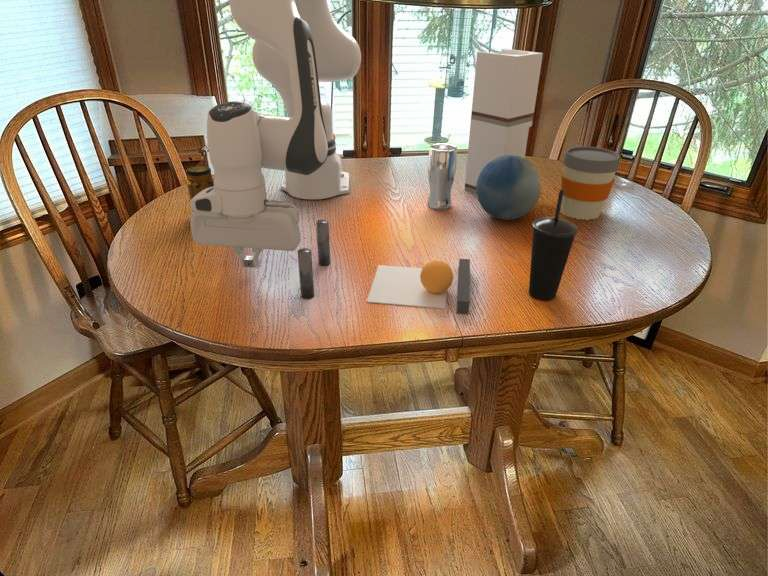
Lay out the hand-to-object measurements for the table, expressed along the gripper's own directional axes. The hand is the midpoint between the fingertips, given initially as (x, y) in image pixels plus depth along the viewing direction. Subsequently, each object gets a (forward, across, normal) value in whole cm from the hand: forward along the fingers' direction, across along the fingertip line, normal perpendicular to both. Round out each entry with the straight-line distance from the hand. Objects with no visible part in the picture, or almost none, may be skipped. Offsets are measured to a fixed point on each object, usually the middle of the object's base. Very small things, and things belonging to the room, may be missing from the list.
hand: (250, 266), depth 102 cm
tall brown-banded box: (+2, -48, -55) cm, 73 cm away
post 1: (+2, -13, +6) cm, 15 cm away
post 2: (+2, -13, -6) cm, 15 cm away
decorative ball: (+2, -50, -37) cm, 63 cm away
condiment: (+2, +20, -25) cm, 32 cm away
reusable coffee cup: (+2, -70, -43) cm, 82 cm away
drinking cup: (+2, -56, -1) cm, 56 cm away
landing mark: (+2, -31, 0) cm, 31 cm away
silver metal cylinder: (+2, -34, -42) cm, 54 cm away
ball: (-1, -36, +1) cm, 36 cm away
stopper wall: (+2, -41, 0) cm, 41 cm away
